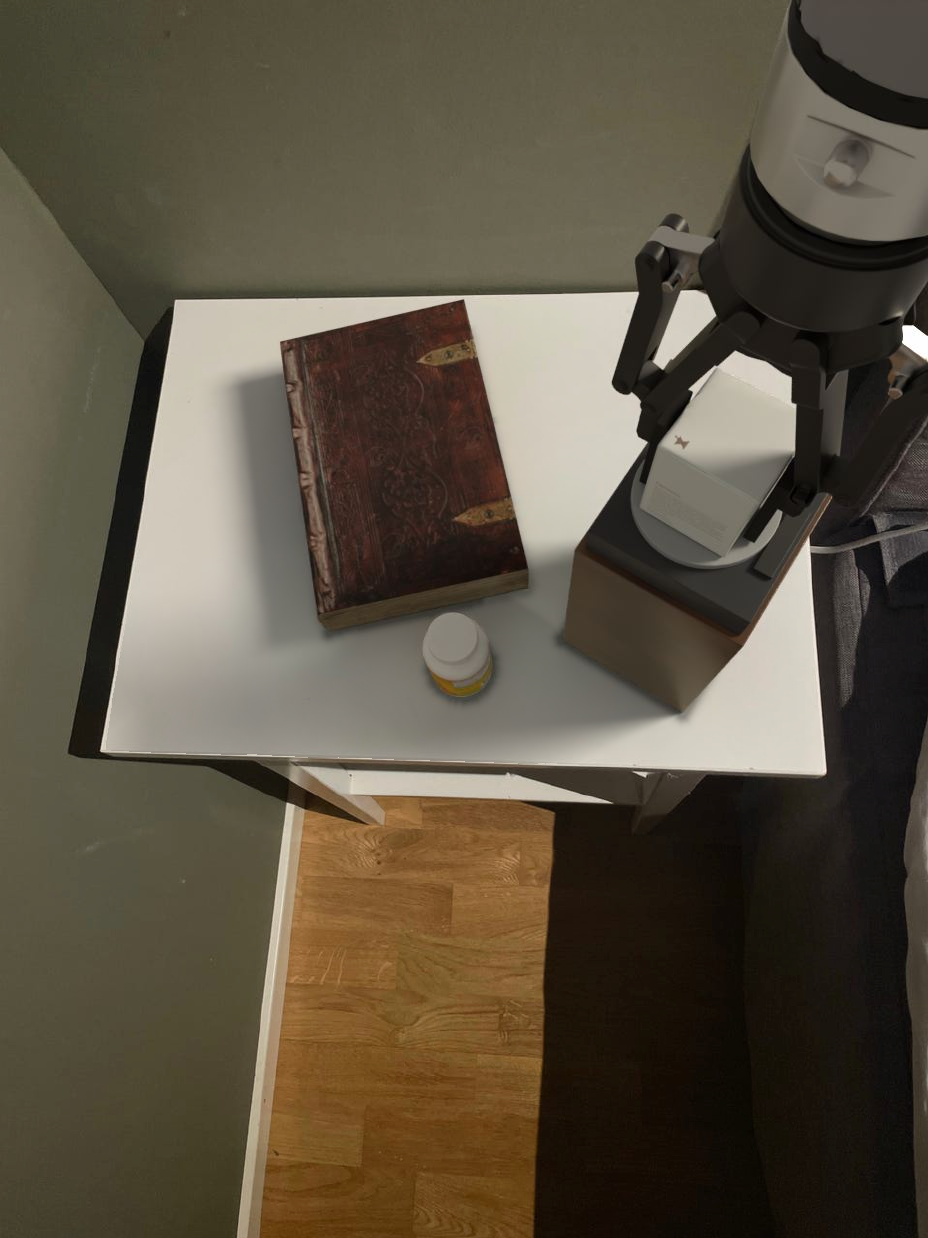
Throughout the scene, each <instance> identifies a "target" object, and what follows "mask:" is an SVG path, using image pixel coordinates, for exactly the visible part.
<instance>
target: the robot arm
mask: <svg viewBox="0 0 928 1238" xmlns="http://www.w3.org/2000/svg"><path fill="white" fill-rule="evenodd" d="M634 267H635V276H636V284H637V290H638V291H637V292H638V295H637V297H636V298H637V299H636V302H635V303H634V304H635V305H634V308H633V311H632V313H631V314H632V315H631V318H630V321H629V324H628V328H627V331H626V333H625V337H624V340H623V343H622V346H621V350H620V353H619V357H618V360H617V363H616V366H615V370H614V372H613V375H612V379H611V386H612V388H613V389H614V390H615V391H616V392H617V393H619V394H621V395H623V396H629V395H631V394H633V395H634V396H635V397H636V398H637V399H638V400H639V401H640V403H639V408H640V414H639V418H638V421H637V426H636V430H635V432H636V435H637V438H640V439H641V440H643V441H645V442H649V443H650V444H649V448H648V451H647V455H646V458H645V462H644V465H643V469H642V472H641V476H640V479H639V481H640V482H641V483H643V484H645V485H646V483H647V480H648V476H649V473H650V470H651V466H652V463H653V460H654V456H655V453H656V450H657V447H658V444H659V443H660V441H661V440H662V439H663V437H664V436H665V435H666V434H667V432H668V431H669V430H670V428H671V427H672V426H673V424H674V423H675V422H676V420H677V419H678V418H679V416H680V415H681V414H682V412H683V411H684V409H685V408H686V406H687V405H688V404H689V403H690V401H691V400H692V397H693V394H694V391H693V390H691V389H690V388H692V387H693V386H694V385H695V384H697V382H699V381H700V380H701V379H702V378H703V377H704V376H705V375H706V374H708V372H710V371H711V370H712V369H713V368H714V367H716V368H718V366H720V365H721V364H722V363H723V362H725V360H727V359H728V358H729V357H730V356H731V355H733V353H735V352H737V353H739V354H741V355H744V356H745V357H748V358H751V359H754V360H758V361H762V362H766V363H767V364H769V365H770V366H771V367H773V368H774V369H776V370H777V371H779V372H780V373H781V374H783V375H785V376H787V377H789V378H791V387H790V388H791V389H790V402H791V403H792V404H794V405H795V408H796V431H795V455H794V456H793V458H792V460H791V462H790V463H789V465H788V466H787V468H786V469H785V471H784V473H783V474H782V476H781V477H780V479H779V480H778V482H777V483H776V485H775V487H774V488H773V490H772V491H771V493H770V494H769V496H768V498H767V499H766V501H765V502H764V504H763V505H762V507H761V509H760V510H759V512H758V514H757V515H756V517H755V518H754V520H753V522H752V523H751V525H750V526H749V528H748V530H747V531H746V533H745V534H744V536H743V538H745V539H747V540H749V541H751V542H753V543H755V542H756V540H757V539H758V537H759V536H760V534H761V533H762V532H763V530H764V529H765V527H766V526H767V524H768V523H769V521H770V520H771V518H772V517H773V516H774V514H775V513H776V511H777V510H780V511H782V512H784V513H786V514H787V515H789V516H791V517H796V516H799V515H800V514H801V513H802V512H803V510H804V509H805V508H807V507H809V506H810V505H811V503H812V501H813V500H814V498H815V496H816V495H817V494H818V493H829V495H831V496H832V500H833V501H834V502H835V503H836V504H837V505H839V506H840V507H843V508H850V509H851V508H854V507H856V506H857V505H858V504H859V502H860V500H861V499H862V497H863V496H864V494H865V493H866V491H867V490H868V488H869V487H870V485H871V484H872V482H873V481H874V479H875V477H876V476H877V475H878V473H879V472H880V470H881V468H882V467H883V466H884V465H885V463H886V461H887V459H888V458H889V457H890V455H891V454H892V453H893V451H894V449H895V448H896V446H897V445H898V443H899V442H900V440H901V438H902V437H903V436H904V434H905V433H906V431H907V429H908V428H909V427H910V425H911V423H912V422H914V421H915V420H917V419H919V418H922V416H924V415H926V414H928V335H926V334H925V333H923V332H922V331H921V330H919V329H918V328H917V327H916V326H914V324H915V321H916V317H917V310H916V302H917V298H918V297H919V295H920V294H921V292H922V291H923V289H924V288H925V287H926V285H927V283H928V0H790V2H789V3H788V5H787V9H786V12H785V15H784V19H783V22H782V25H781V28H780V32H779V36H778V39H777V42H776V46H775V49H774V52H773V56H772V59H771V63H770V66H769V69H768V73H767V77H766V78H765V83H764V87H763V90H762V92H761V97H760V100H759V104H758V106H757V110H756V113H755V116H754V121H753V125H752V129H751V133H750V137H749V143H748V144H747V146H746V148H745V150H744V152H743V155H742V158H741V161H740V164H739V168H738V171H737V174H736V177H735V181H734V184H733V186H732V191H731V194H730V198H729V201H728V203H727V208H726V211H725V214H724V217H723V221H722V225H721V227H719V229H718V230H717V231H716V232H715V233H714V235H713V236H712V237H709V236H705V235H701V234H695V233H691V232H690V227H689V224H688V221H687V220H686V219H685V217H683V216H682V215H680V214H678V213H669V214H666V215H665V216H664V218H663V219H662V221H661V222H660V224H659V225H658V227H656V229H655V230H654V231H653V233H651V236H650V237H649V238H648V239H647V241H646V242H645V243H644V245H643V246H642V247H641V249H640V251H639V252H638V254H637V255H636V257H635V258H634ZM696 273H698V277H699V279H700V281H701V284H702V286H703V288H704V291H705V293H706V296H707V297H708V300H709V302H710V304H711V307H712V309H713V311H714V314H715V316H714V317H713V318H712V319H711V320H710V321H709V322H708V323H707V325H705V326H704V327H703V329H701V330H700V331H699V333H697V334H696V335H695V336H694V337H693V339H691V340H690V342H688V343H687V344H686V345H685V347H683V349H682V350H681V351H680V352H678V353H677V355H676V356H675V357H674V358H673V359H672V358H670V359H669V360H668V362H667V363H666V365H665V366H664V368H661V367H660V366H659V365H657V364H656V363H655V362H654V361H655V359H656V357H657V354H658V351H659V349H660V346H661V343H662V341H663V339H664V336H665V333H666V330H667V328H668V327H669V326H668V325H669V323H670V321H671V317H672V315H673V312H674V310H675V308H676V305H677V302H678V299H679V297H680V294H681V291H682V289H683V287H685V286H686V285H688V282H689V281H690V280H691V278H692V277H693V276H694V274H696ZM886 359H889V361H890V363H891V365H892V367H891V368H890V371H889V373H888V374H887V378H886V379H887V383H888V384H889V385H890V386H889V388H888V390H887V395H888V396H889V398H888V400H887V401H886V403H885V404H884V406H883V408H882V410H881V411H880V413H879V414H878V416H877V418H876V420H875V421H874V423H873V425H872V427H871V428H870V430H869V432H868V433H867V435H866V437H865V438H864V440H863V442H862V443H861V446H859V449H858V450H857V451H856V453H855V455H854V457H853V459H852V458H848V457H844V456H841V448H842V447H841V446H842V437H843V427H844V419H845V417H844V416H845V410H846V409H845V407H846V400H847V399H846V398H847V389H848V388H847V387H848V379H849V378H848V377H849V370H851V369H854V368H858V367H861V366H865V365H869V364H872V363H877V362H880V361H882V360H886Z"/></svg>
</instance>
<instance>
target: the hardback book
mask: <svg viewBox="0 0 928 1238" xmlns="http://www.w3.org/2000/svg"><path fill="white" fill-rule="evenodd" d="M279 346H280V347H279V348H280V355H281V363H282V369H283V378H284V385H285V391H286V399H287V408H288V413H289V420H290V427H291V436H292V441H293V451H294V457H295V464H296V471H297V478H298V485H299V492H300V500H301V506H302V514H303V522H304V529H305V535H306V544H307V550H308V557H309V565H310V574H311V579H312V588H313V593H314V601H315V608H316V615H317V620H318V622H319V623H320V624H321V626H322V627H323V628H324V629H325V630H328V631H330V632H333V631H338V630H342V629H346V628H352V627H355V626H360V625H361V626H362V625H365V624H369V623H370V624H371V623H374V622H378V621H383V620H389V619H392V618H397V617H398V618H399V617H401V616H406V615H411V614H416V613H420V612H421V613H422V612H425V611H430V610H435V609H440V608H443V607H448V606H452V605H457V604H461V603H466V602H471V601H475V600H481V599H484V598H490V597H494V596H499V595H502V594H507V593H512V592H513V593H514V592H517V591H523V590H526V589H529V580H530V579H529V577H530V575H529V572H530V571H529V569H530V568H529V564H528V560H527V557H526V552H525V548H524V544H523V540H522V536H521V532H520V527H519V523H518V518H517V515H516V510H515V506H514V502H513V498H512V493H511V489H510V485H509V481H508V477H507V473H506V468H505V465H504V464H505V463H504V459H503V456H502V452H501V448H500V443H499V439H498V436H497V435H498V434H497V431H496V427H495V422H494V418H493V414H492V410H491V405H490V402H489V398H488V397H489V396H488V394H487V389H486V385H485V381H484V376H483V372H482V368H481V364H480V360H479V356H478V351H477V347H476V343H475V340H474V335H473V330H472V327H471V321H470V318H469V314H468V309H467V306H466V302H465V299H464V298H462V299H458V300H453V301H449V302H445V303H441V304H437V305H433V306H428V307H424V308H420V309H415V310H410V311H407V312H402V313H398V314H393V315H389V316H385V317H381V318H376V319H372V320H368V321H367V320H366V321H364V322H358V323H355V324H350V325H345V326H341V327H338V328H333V329H328V330H323V331H321V332H315V333H311V334H307V335H306V334H305V335H302V336H298V337H294V338H290V339H289V338H288V339H284V340H280V341H279Z"/></svg>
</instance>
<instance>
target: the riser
mask: <svg viewBox="0 0 928 1238" xmlns="http://www.w3.org/2000/svg"><path fill="white" fill-rule="evenodd" d="M646 442H647V441H646ZM647 443H648V442H647ZM647 443H646V444H645V445H644V447H643V448H642V450H641V451H640V452H639V454H638V456H637V457H636V458H635V460H634V462H633V463H632V465H633V464H634V463H635V461H636V460H637V458H638V457H639V455H640V454H641V452H642V451H643V449H644V448H645V446H646V445H647ZM632 465H631V466H630V467H629V469H628V470H627V472H626V473H625V474H624V476H623V478H622V479H621V480H620V482H619V483H618V485H617V487H615V490H614V491H613V493H614V492H615V491H616V489H617V488H618V486H619V485H620V483H621V482H622V480H623V479H624V477H625V476H626V474H627V473H628V471H629V470H630V468H631V467H632ZM613 493H612V494H611V496H612V495H613ZM611 496H610V497H609V498H608V500H607V501H606V503H605V504H604V506H603V507H602V508H601V510H600V512H599V513H598V514H597V516H596V517H595V519H594V520H593V522H592V524H593V523H594V521H595V520H596V518H597V517H598V516H599V514H600V513H601V511H602V510H603V508H604V507H605V505H606V504H607V502H608V501H609V499H610V498H611ZM832 500H833V498H832V494H828V495H827V497H826V499H825V500H824V502H823V504H822V505H821V507H820V509H819V510H818V512H817V514H816V515H815V517H814V519H813V520H812V522H811V524H810V525H809V527H808V529H807V530H806V532H805V534H804V535H803V537H802V539H801V540H800V542H799V544H798V545H797V547H796V549H795V550H794V552H793V554H792V555H791V557H790V559H789V560H788V562H787V564H786V565H785V567H784V569H783V570H782V572H781V574H780V575H779V577H778V579H777V580H776V582H775V584H774V585H773V587H772V589H771V590H770V592H769V594H768V595H767V597H766V599H765V600H764V602H763V604H762V605H761V607H760V609H759V610H758V612H757V614H756V615H755V617H754V619H753V620H752V622H751V623H750V624H749V626H748V627H747V628H746V629H745V630H744V631H743V633H742V634H741V635H738V634H736V633H734V632H732V631H731V630H729V629H727V628H725V627H724V626H722V625H720V624H718V623H717V622H715V621H713V620H711V619H710V618H708V617H706V616H704V615H703V614H701V613H699V612H697V611H696V610H694V609H692V608H690V607H689V606H687V605H685V604H683V603H681V602H680V601H678V600H676V599H674V598H673V597H671V596H669V595H667V594H666V593H664V592H662V591H660V590H659V589H657V588H655V587H653V586H652V585H650V584H648V583H646V582H645V581H643V580H641V579H639V578H638V577H636V576H634V575H632V574H630V573H629V572H627V571H625V570H623V569H622V568H620V567H618V566H616V565H615V564H613V563H611V562H609V561H608V560H606V559H604V558H602V557H601V556H599V555H597V554H595V553H594V552H592V551H590V550H588V549H587V548H585V545H586V539H587V533H588V530H589V529H590V527H591V526H592V524H591V525H590V527H589V528H588V529H587V531H586V532H585V533H584V535H583V536H582V538H581V539H580V541H579V543H578V544H577V545H576V546H575V548H574V551H573V558H572V567H571V573H570V581H569V589H568V594H567V595H568V597H567V602H566V603H567V604H566V611H565V619H564V626H563V635H562V641H563V642H565V643H566V644H568V645H570V646H571V647H573V648H575V649H576V650H578V651H580V652H581V653H583V654H585V656H587V657H589V658H591V659H593V660H595V661H596V662H598V664H599V663H600V664H601V665H603V666H604V667H606V668H607V669H609V670H611V671H613V672H614V673H616V674H618V675H619V676H621V677H622V678H624V679H626V680H627V681H629V682H631V683H633V684H634V685H635V686H637V687H639V688H641V690H644V691H646V692H647V693H649V694H650V695H652V696H654V697H656V698H657V699H658V700H660V701H662V702H664V703H665V704H667V705H668V706H670V707H672V708H673V709H675V710H677V711H678V712H680V713H684V712H685V711H686V710H687V709H688V708H689V707H690V706H691V705H692V703H693V702H694V701H695V700H696V699H697V698H698V697H699V696H700V695H701V694H702V692H704V690H705V689H706V688H707V687H708V686H709V685H710V684H711V683H712V682H713V680H714V679H715V678H716V677H717V676H718V675H719V674H720V673H721V672H722V670H723V669H725V667H726V666H727V665H728V664H729V663H730V662H731V661H732V660H733V658H734V657H735V656H736V655H738V653H739V652H740V651H741V650H742V648H744V646H745V645H746V643H747V641H748V640H749V638H750V636H751V635H752V633H753V631H754V630H755V628H756V626H757V625H758V623H759V621H760V620H761V618H762V616H763V614H764V613H765V612H766V610H767V608H768V606H769V605H770V603H771V601H772V600H773V598H774V596H775V595H776V594H777V591H778V589H779V588H780V586H781V584H782V583H783V581H784V580H785V578H786V576H787V574H788V573H789V571H790V569H791V568H792V566H793V564H794V562H795V561H796V560H797V558H798V556H799V554H800V553H801V551H802V549H803V548H804V546H805V544H806V542H808V540H809V538H810V536H811V535H812V532H813V531H814V529H815V528H816V526H817V524H818V523H819V521H820V520H821V518H822V516H823V514H824V512H825V511H826V509H827V508H828V506H829V504H830V503H831V501H832Z"/></svg>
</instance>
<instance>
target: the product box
mask: <svg viewBox="0 0 928 1238" xmlns="http://www.w3.org/2000/svg"><path fill="white" fill-rule="evenodd" d="M795 431H796V406H793V405H791V404H790V403H788V402H785V400H784V401H783V400H781V399H780V398H779V397H776V396H774V395H772V394H770V393H768V392H766V391H764V390H762V389H760V388H758V387H756V386H755V385H752V384H750V383H748V382H747V381H745V380H744V379H741V378H739V377H737V376H735V375H733V374H731V373H730V372H727V371H725V370H723V369H722V368H720V367H716V368H714V370H713V371H712V372H711V374H710V375H709V376H708V378H707V379H706V380H705V382H704V383H703V384H702V386H701V387H700V389H699V390H698V391H697V393H696V394H695V395H694V397H693V398H691V400H690V403H689V404H688V405H687V406H686V408H685V409H684V411H683V412H682V414H681V415H680V416H679V418H678V419H677V420H676V422H675V423H674V424H673V426H672V427H671V428H670V430H669V431H668V432H667V434H666V435H665V436H664V437H663V439H662V440H661V441H660V443H659V444H658V447H657V450H656V453H655V456H654V460H653V463H652V466H651V470H650V473H649V476H648V480H647V483H646V486H645V489H644V493H643V496H642V500H641V503H640V508H641V509H642V510H644V511H646V512H647V513H649V514H651V515H652V516H654V517H656V518H657V519H659V520H661V521H663V522H664V523H666V524H668V525H669V526H671V527H673V528H674V529H676V530H678V531H679V532H681V533H683V534H684V535H686V536H688V537H689V538H691V539H693V540H695V541H696V542H698V543H700V544H701V545H703V546H705V547H706V548H708V549H710V550H712V551H713V552H715V553H717V554H718V555H720V556H722V557H725V556H726V555H727V554H728V552H729V550H730V549H731V547H732V546H733V544H734V543H735V541H736V539H737V538H738V537H739V535H740V534H741V532H742V531H743V529H744V528H745V526H746V525H747V523H748V522H749V521H750V519H751V518H752V517H753V515H754V514H755V512H756V511H757V510H758V508H759V507H760V505H761V504H762V503H763V501H764V500H765V499H766V497H767V496H768V495H769V494H770V492H771V491H772V490H773V488H774V487H775V485H776V483H777V482H778V480H779V479H780V477H781V476H782V474H783V473H784V471H785V469H786V468H787V466H788V464H789V463H790V461H791V459H792V458H793V457H794V455H795Z"/></svg>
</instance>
